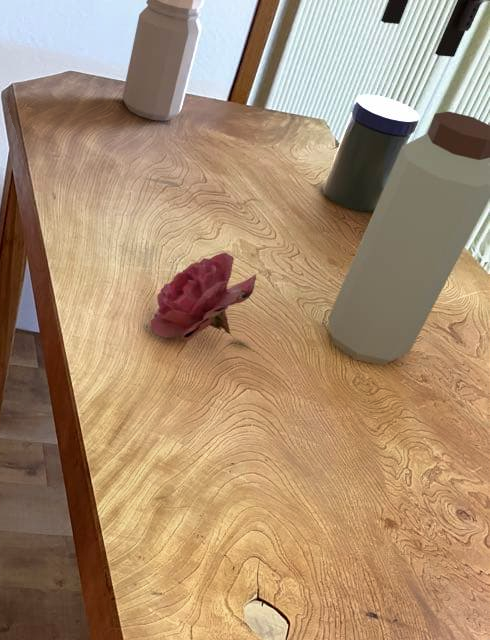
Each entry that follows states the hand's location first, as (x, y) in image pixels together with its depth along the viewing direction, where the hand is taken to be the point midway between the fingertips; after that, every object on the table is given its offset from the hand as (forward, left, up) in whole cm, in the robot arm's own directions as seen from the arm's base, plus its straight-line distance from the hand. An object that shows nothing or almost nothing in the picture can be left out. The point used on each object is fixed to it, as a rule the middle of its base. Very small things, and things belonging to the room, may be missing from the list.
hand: (416, 38), depth 120 cm
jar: (+30, +20, -22) cm, 42 cm away
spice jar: (0, 0, -22) cm, 22 cm away
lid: (0, 0, -9) cm, 9 cm away
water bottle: (-36, +24, -22) cm, 49 cm away
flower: (-31, +45, -22) cm, 59 cm away
